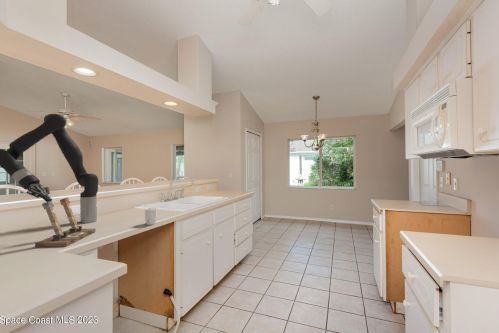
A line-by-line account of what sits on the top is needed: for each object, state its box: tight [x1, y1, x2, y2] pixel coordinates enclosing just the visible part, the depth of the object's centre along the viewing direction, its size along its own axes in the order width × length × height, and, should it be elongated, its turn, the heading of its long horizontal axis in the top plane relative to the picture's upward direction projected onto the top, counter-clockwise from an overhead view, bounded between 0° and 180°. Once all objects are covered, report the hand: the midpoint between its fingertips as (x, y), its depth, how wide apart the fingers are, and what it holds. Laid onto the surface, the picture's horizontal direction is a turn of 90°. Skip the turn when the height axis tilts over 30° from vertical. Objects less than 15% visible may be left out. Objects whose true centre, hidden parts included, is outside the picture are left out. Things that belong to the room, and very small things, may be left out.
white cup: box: [144, 207, 158, 226], centre depth 153 cm, size 8×8×10 cm
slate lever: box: [41, 200, 64, 237], centre depth 115 cm, size 3×3×19 cm
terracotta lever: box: [59, 197, 79, 230], centre depth 127 cm, size 3×3×19 cm
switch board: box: [34, 225, 96, 248], centre depth 121 cm, size 24×14×4 cm, turn 6°
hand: (50, 201), depth 126 cm, fingers closed
